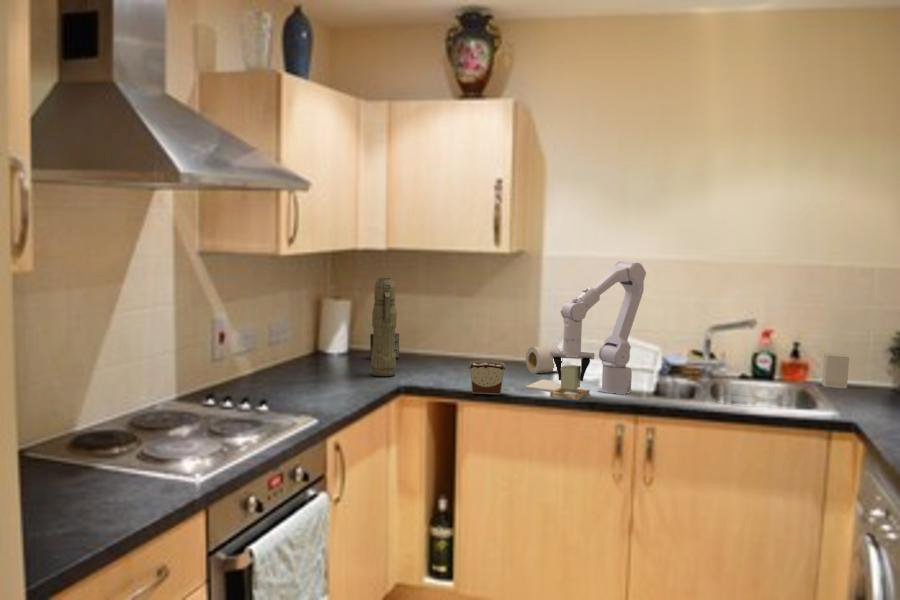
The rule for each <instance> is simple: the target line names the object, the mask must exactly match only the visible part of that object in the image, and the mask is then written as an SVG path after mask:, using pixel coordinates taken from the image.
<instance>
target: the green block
mask: <svg viewBox="0 0 900 600" xmlns="http://www.w3.org/2000/svg"><path fill="white" fill-rule="evenodd" d="M580 375H581V365H576V364H566V365H562V367H561V380H560V382H561V388H562V389H570V390H575V389H580V387H581V381H580Z"/></svg>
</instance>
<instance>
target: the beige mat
mask: <svg viewBox="0 0 900 600" xmlns="http://www.w3.org/2000/svg"><path fill="white" fill-rule="evenodd" d="M554 381H555V380H549V379H540V380H537V381H535V382H533V383H530V384H528V385H526V386H525V390H533V391H539V392H548V393H550V392H552V391H554V390H556V389H558V388H560V387H561V385H557V384H556V383H555V382H554Z"/></svg>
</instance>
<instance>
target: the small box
mask: <svg viewBox="0 0 900 600" xmlns="http://www.w3.org/2000/svg"><path fill="white" fill-rule="evenodd" d="M369 335H370V338H369V339H370V344H369V345H370V347H369V358H371V356H372V353H373V333H370V334H369ZM394 353H395V356H396V358H399V359H400V333H399V332H398V333H397V332H395V349H394Z"/></svg>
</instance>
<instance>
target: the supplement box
mask: <svg viewBox="0 0 900 600" xmlns="http://www.w3.org/2000/svg"><path fill="white" fill-rule="evenodd" d="M849 364H850V356H848V355H847V354H844V353H829V352H825V353H823V367H822V379H821V380H822V381H821V384H822V386H823V387H824V388H834V389H835V388H836V389H847V388H848V378H849Z"/></svg>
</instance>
